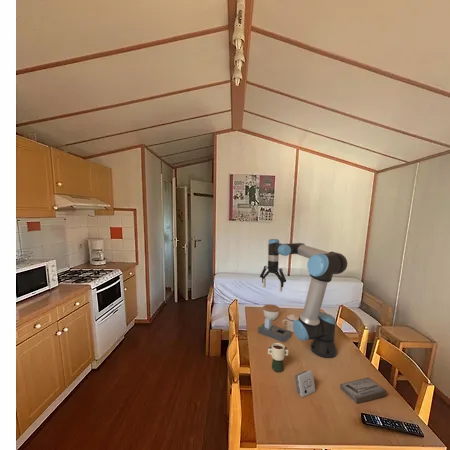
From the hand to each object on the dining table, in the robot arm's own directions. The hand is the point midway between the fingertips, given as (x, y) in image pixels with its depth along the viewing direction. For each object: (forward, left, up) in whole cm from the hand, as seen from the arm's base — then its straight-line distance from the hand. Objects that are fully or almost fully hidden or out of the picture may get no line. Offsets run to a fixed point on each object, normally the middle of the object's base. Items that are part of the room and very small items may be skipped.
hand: (272, 289), depth 187 cm
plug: (-2, +8, -29) cm, 30 cm away
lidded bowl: (+8, -14, -29) cm, 33 cm away
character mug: (-27, +41, -29) cm, 57 cm away
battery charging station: (-7, +8, -29) cm, 31 cm away
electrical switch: (-45, +48, -29) cm, 72 cm away
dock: (-18, +24, -29) cm, 42 cm away
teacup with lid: (-12, -7, -29) cm, 32 cm away
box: (-67, +30, -29) cm, 79 cm away
